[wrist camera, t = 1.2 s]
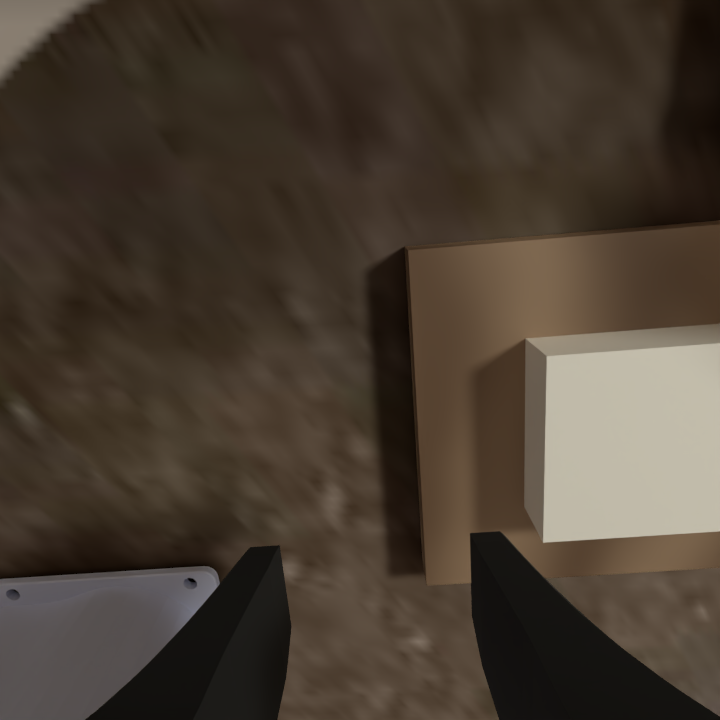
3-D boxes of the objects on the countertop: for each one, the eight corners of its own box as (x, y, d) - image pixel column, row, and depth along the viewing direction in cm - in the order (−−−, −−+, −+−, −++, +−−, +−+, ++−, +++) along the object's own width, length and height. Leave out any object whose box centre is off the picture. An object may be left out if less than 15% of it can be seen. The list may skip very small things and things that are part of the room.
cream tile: (524, 507, 18) (542, 542, 16) (525, 338, 16) (546, 356, 14) (791, 489, 18) (842, 523, 16) (820, 316, 16) (882, 330, 14)
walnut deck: (422, 558, 20) (426, 585, 19) (404, 246, 17) (408, 250, 16) (735, 538, 20) (764, 564, 19) (781, 215, 17) (820, 216, 15)
